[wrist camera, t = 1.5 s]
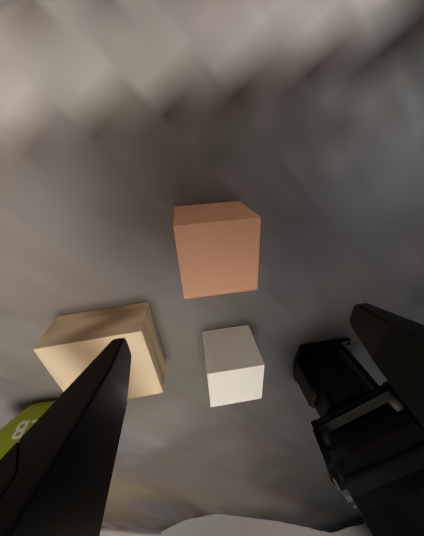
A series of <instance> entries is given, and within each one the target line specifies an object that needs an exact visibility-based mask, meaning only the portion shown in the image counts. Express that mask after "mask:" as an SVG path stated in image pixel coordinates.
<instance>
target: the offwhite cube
mask: <svg viewBox="0 0 424 536" xmlns="http://www.w3.org/2000/svg"><path fill="white" fill-rule="evenodd" d="M202 337H203V346H204V355H205V364H206V372H207V380H208V388H209V396H210V404H211V407H215V406H221V405H227V404H232V403H238V402H244V401H249V400H255V399H261V397H262V387H263V376H264V362H263V360H262V357H261V355H260V352H259V350H258V347H257V345H256V342H255V340H254V337H253V335H252V332H251V330H250V327H249V325H244V326H237V327H230V328H223V329H216V330H209V331H202Z"/></svg>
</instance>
